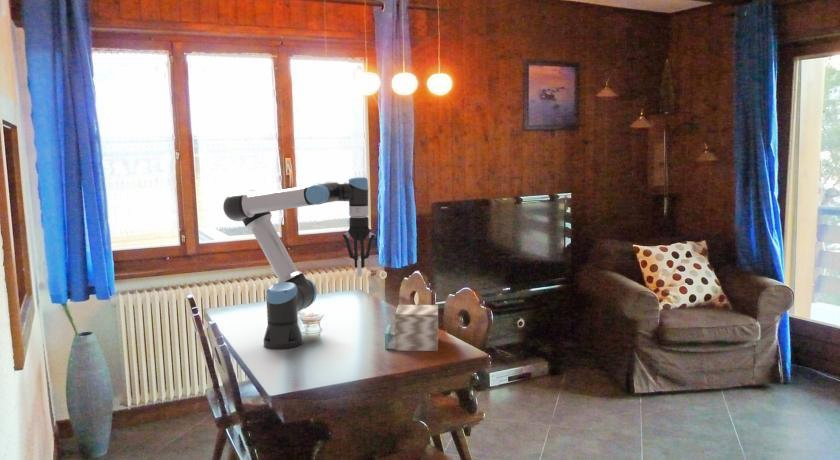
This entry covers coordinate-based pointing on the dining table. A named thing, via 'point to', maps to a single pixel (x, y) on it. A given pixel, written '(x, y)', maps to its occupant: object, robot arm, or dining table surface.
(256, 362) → the dining table surface
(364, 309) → the dining table surface
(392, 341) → the tray
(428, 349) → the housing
